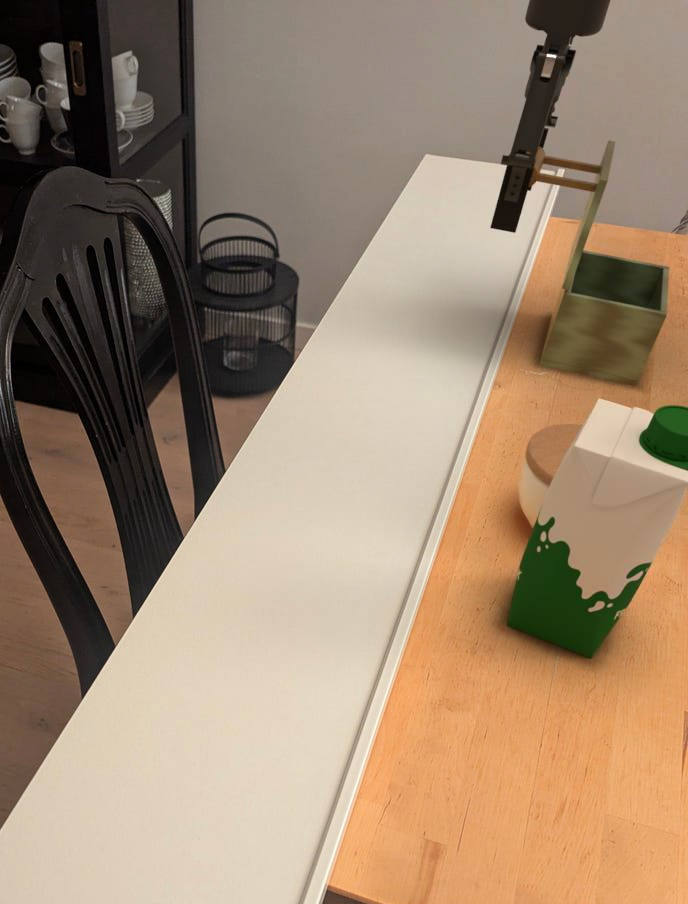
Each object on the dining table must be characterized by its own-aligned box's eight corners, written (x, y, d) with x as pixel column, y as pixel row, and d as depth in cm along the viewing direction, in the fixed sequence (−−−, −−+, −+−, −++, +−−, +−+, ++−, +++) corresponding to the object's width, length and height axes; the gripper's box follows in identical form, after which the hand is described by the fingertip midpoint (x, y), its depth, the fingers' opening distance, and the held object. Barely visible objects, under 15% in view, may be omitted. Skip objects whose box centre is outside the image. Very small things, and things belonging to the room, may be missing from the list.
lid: (615, 141, 101) (534, 127, 103) (607, 180, 92) (518, 164, 94) (579, 245, 110) (504, 230, 111) (568, 290, 101) (487, 273, 103)
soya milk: (599, 670, 73) (711, 463, 59) (490, 627, 76) (571, 419, 62) (623, 606, 79) (730, 402, 64) (520, 568, 81) (601, 364, 67)
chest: (640, 335, 114) (669, 266, 108) (635, 386, 105) (667, 314, 99) (551, 316, 116) (574, 248, 110) (539, 364, 107) (563, 293, 101)
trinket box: (622, 573, 82) (665, 488, 75) (501, 548, 83) (533, 463, 76) (617, 503, 89) (655, 420, 82) (505, 482, 90) (534, 398, 84)
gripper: (549, -45, 97) (494, 167, 112) (519, 0, 81) (459, 241, 96) (622, -36, 96) (556, 178, 111) (606, 12, 79) (531, 255, 94)
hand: (511, 208), depth 103 cm, fingers open, 13 cm apart
